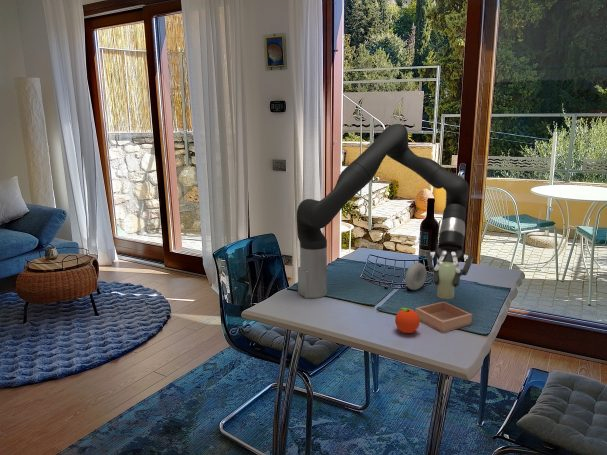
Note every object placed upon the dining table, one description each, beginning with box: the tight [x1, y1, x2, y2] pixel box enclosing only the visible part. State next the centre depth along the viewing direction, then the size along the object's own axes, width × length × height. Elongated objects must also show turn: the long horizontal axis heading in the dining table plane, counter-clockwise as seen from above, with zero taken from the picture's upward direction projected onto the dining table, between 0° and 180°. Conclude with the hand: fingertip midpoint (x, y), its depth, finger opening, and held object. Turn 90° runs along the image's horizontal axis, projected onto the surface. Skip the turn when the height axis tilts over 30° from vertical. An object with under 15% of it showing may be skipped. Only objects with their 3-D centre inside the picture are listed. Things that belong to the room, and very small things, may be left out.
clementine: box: [394, 307, 421, 334], centre depth 137 cm, size 8×7×7 cm
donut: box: [404, 262, 428, 291], centre depth 170 cm, size 10×4×10 cm, turn 130°
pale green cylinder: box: [436, 262, 456, 300], centre depth 142 cm, size 5×5×10 cm
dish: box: [414, 300, 473, 334], centre depth 144 cm, size 12×12×3 cm
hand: (445, 284), depth 140 cm, fingers closed on pale green cylinder, 4 cm apart
